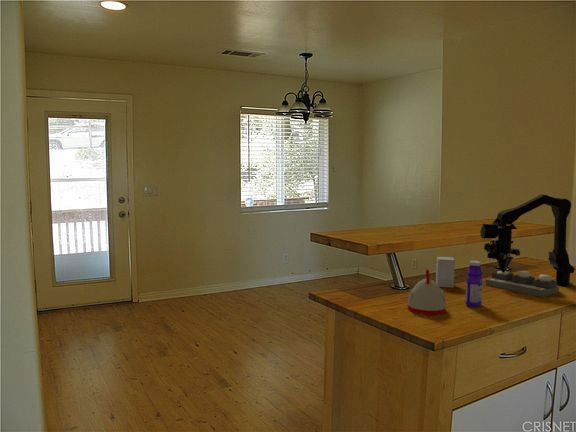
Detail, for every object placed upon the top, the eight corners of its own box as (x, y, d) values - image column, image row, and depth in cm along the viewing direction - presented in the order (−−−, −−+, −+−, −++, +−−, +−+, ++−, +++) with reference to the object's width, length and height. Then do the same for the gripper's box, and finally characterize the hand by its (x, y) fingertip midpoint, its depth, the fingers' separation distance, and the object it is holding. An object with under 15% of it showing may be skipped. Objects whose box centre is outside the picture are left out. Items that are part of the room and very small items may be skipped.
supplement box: (454, 287, 219) (455, 259, 217) (436, 286, 220) (437, 259, 219) (452, 283, 226) (453, 256, 225) (435, 283, 227) (436, 256, 226)
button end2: (542, 279, 215) (542, 273, 214) (553, 281, 211) (554, 275, 210) (536, 281, 211) (536, 275, 211) (548, 283, 208) (548, 277, 207)
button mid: (520, 275, 222) (520, 270, 222) (531, 277, 218) (531, 272, 218) (515, 277, 219) (515, 271, 219) (526, 279, 215) (526, 273, 215)
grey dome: (444, 305, 191) (445, 268, 189) (447, 316, 178) (448, 275, 176) (407, 303, 194) (408, 266, 192) (407, 313, 181) (409, 273, 179)
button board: (501, 280, 233) (501, 270, 232) (558, 291, 212) (559, 280, 212) (485, 284, 224) (485, 274, 223) (543, 297, 204) (544, 285, 203)
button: (500, 275, 230) (500, 270, 229) (510, 277, 226) (511, 272, 225) (494, 277, 227) (495, 271, 226) (505, 279, 223) (505, 273, 222)
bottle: (479, 308, 187) (481, 263, 185) (463, 306, 190) (465, 262, 188) (482, 304, 193) (484, 260, 191) (467, 302, 196) (469, 259, 194)
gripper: (498, 234, 236) (497, 266, 238) (477, 238, 225) (475, 271, 226) (521, 237, 228) (519, 270, 229) (500, 241, 216) (498, 276, 218)
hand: (503, 272), depth 226 cm, fingers closed
